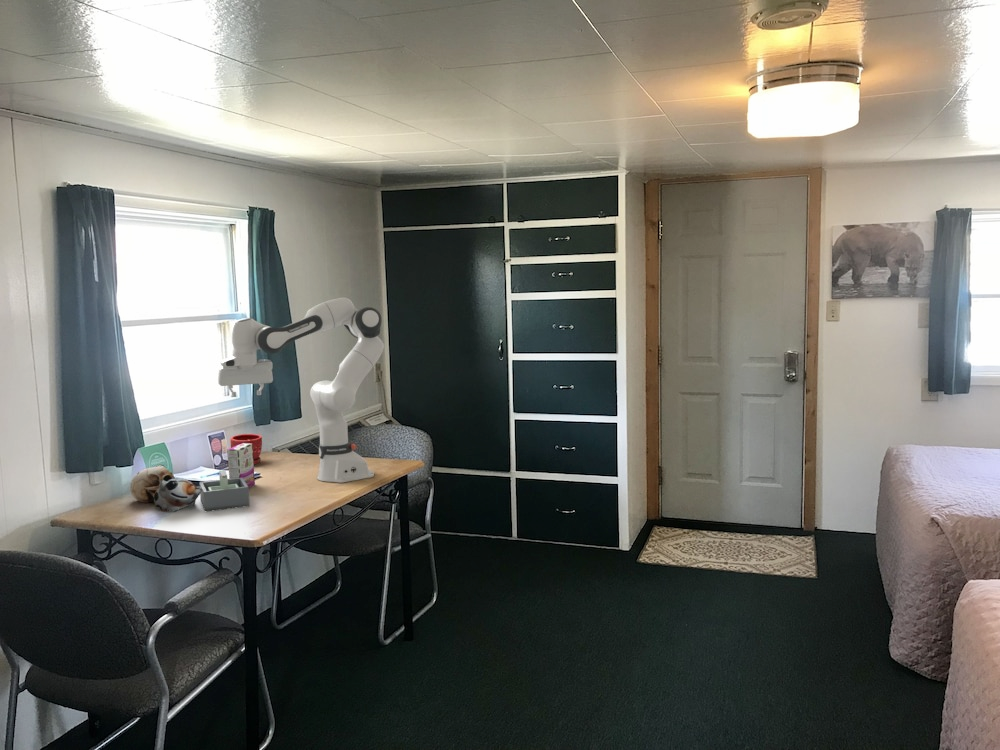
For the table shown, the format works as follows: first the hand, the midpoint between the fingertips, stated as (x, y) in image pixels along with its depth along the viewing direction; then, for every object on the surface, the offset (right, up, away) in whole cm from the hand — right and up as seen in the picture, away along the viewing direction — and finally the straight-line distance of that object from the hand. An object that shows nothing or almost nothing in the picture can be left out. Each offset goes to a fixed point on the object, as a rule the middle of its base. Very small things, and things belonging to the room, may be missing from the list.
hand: (246, 395), depth 320 cm
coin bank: (-27, -38, -17) cm, 49 cm away
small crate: (-1, -37, -23) cm, 44 cm away
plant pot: (-12, -31, +39) cm, 51 cm away
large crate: (-1, -38, -23) cm, 44 cm away
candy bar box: (-2, -36, -1) cm, 36 cm away
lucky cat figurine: (-16, -39, -27) cm, 50 cm away
